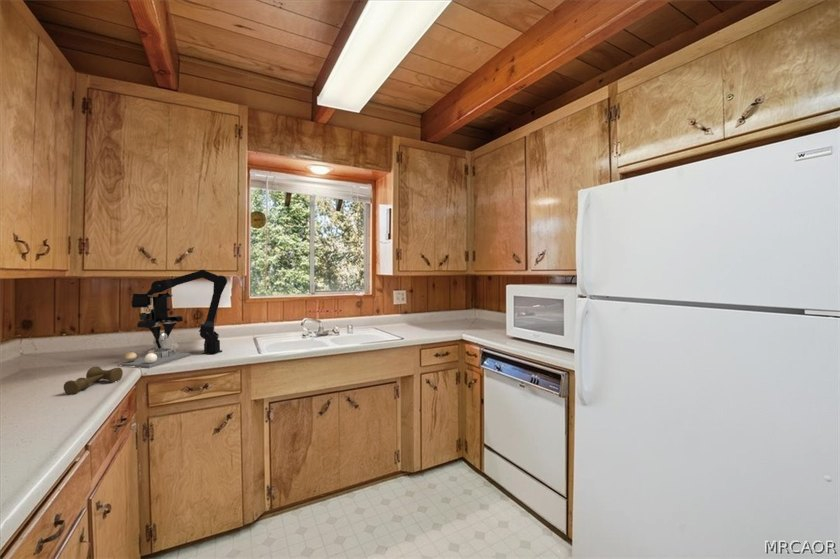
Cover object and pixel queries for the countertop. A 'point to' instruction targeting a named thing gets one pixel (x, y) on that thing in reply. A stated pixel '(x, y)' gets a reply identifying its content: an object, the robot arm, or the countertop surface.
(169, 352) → the crimped metal cup
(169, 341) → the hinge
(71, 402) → the countertop surface
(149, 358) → the plastic ball
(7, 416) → the countertop surface
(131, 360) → the tan wooden ball
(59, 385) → the countertop surface
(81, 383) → the kendama
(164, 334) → the steel ball
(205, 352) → the robot arm
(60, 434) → the countertop surface
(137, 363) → the mat
